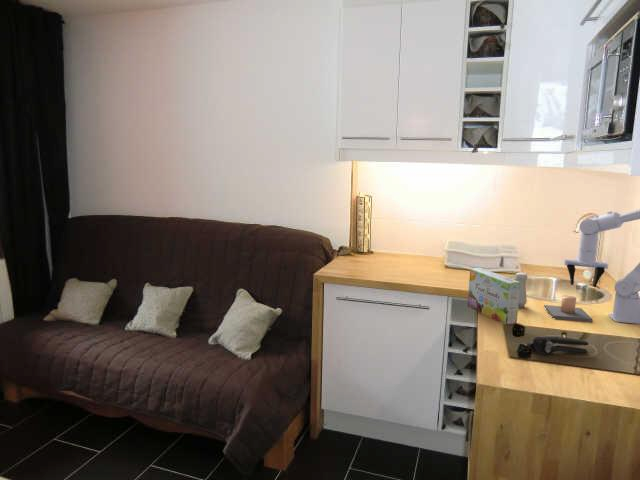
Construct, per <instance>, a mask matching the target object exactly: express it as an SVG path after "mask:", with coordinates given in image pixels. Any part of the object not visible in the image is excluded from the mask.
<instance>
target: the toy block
mask: <svg viewBox="0 0 640 480" xmlns="http://www.w3.org/2000/svg"><path fill="white" fill-rule="evenodd" d="M561 297H562V298H561V304H560V306H561V312H564V313H568V314H573V313H575V308H576V304H577V297H575V296H573V295H569V294H568V295H562V296H561Z"/></svg>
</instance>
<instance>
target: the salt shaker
mask: <svg viewBox="0 0 640 480" xmlns="http://www.w3.org/2000/svg"><path fill="white" fill-rule="evenodd" d="M515 279H516V281H518V282H520V293H519V303H518V309H519V308H521V309H522V308H524V307H525V306H526V304H527V302H528V301H527V288H526V281H527V280H528V274H527V273H525V272H516V273H515Z"/></svg>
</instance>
